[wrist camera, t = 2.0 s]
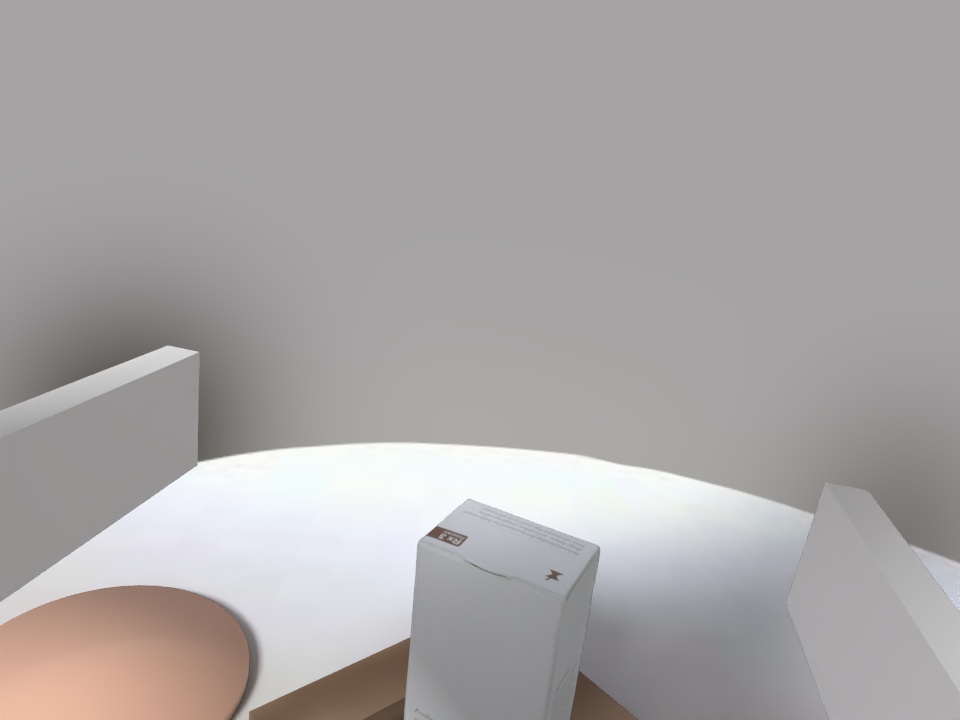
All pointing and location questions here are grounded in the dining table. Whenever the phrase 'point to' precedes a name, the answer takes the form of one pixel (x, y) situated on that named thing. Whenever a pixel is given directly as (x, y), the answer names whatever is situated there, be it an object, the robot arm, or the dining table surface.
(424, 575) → the skincare box
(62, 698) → the coaster
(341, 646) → the dining table surface
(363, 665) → the socket block
